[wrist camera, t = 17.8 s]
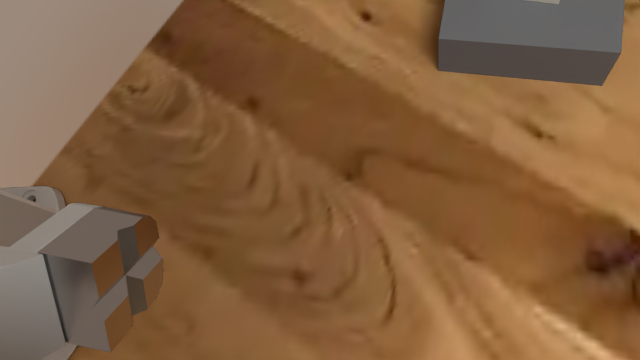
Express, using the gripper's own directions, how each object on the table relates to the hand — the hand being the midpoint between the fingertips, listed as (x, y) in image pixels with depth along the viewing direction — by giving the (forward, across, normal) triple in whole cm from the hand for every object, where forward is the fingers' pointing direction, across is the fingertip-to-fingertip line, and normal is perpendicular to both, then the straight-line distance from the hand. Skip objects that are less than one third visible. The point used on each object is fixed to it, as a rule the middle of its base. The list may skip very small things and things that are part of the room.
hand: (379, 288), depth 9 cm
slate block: (+42, -4, +3) cm, 42 cm away
